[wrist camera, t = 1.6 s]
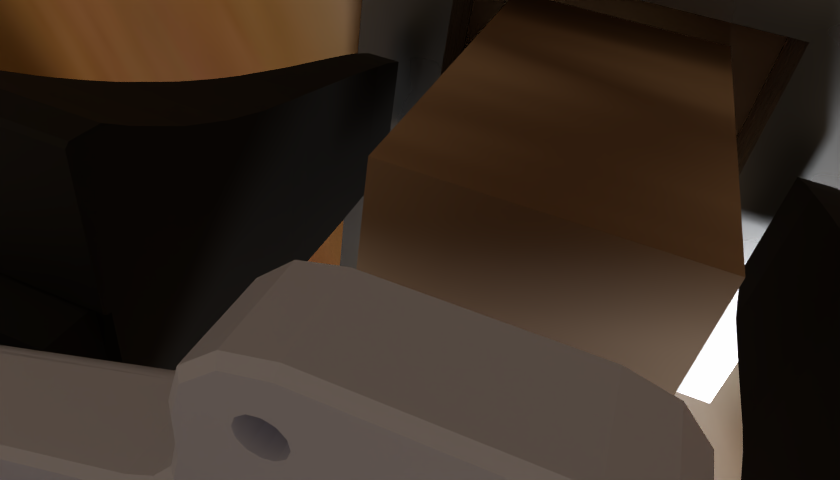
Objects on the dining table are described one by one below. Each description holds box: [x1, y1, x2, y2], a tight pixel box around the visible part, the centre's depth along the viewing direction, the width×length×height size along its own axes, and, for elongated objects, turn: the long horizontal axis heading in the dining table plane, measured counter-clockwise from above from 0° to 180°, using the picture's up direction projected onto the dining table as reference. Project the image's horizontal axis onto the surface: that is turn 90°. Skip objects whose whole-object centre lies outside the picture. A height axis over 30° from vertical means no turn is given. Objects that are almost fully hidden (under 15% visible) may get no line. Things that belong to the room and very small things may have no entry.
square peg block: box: [356, 0, 745, 395], centre depth 11 cm, size 4×4×7 cm
